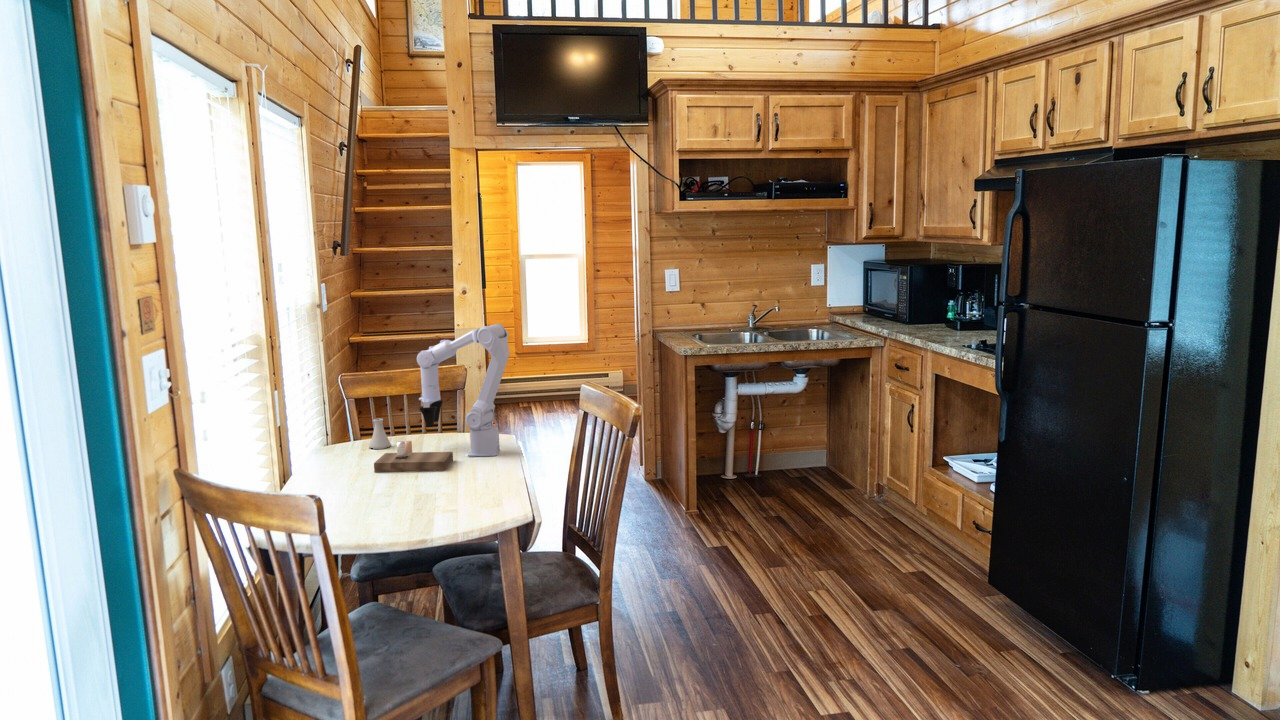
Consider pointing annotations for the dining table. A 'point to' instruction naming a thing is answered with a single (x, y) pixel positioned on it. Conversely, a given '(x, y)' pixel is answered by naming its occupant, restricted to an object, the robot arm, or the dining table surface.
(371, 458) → the dining table surface
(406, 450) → the short pin
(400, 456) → the tall pin
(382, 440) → the flask
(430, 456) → the hole board
